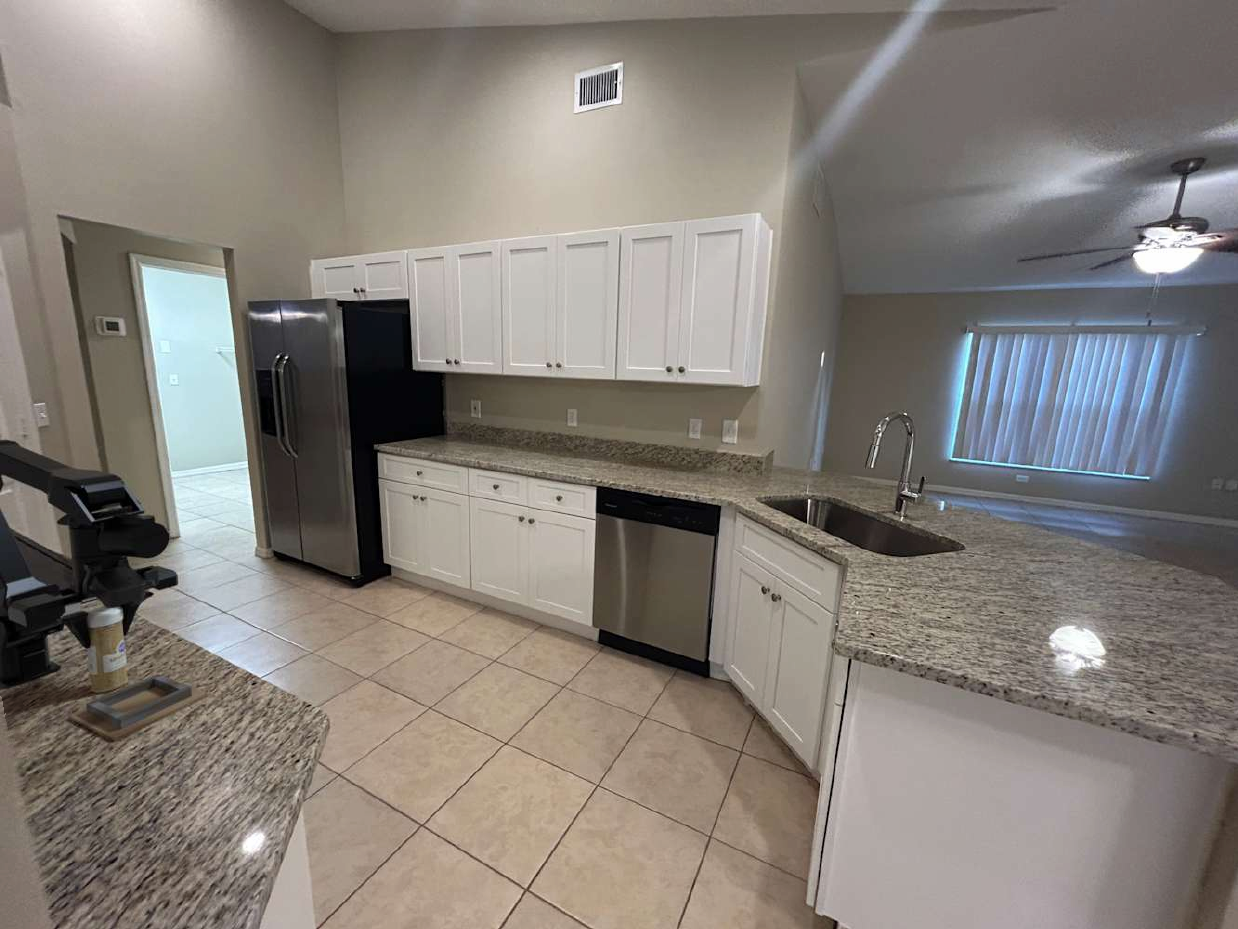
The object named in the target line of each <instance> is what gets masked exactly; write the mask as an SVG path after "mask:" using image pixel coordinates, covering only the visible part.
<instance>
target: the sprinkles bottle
mask: <svg viewBox="0 0 1238 929" xmlns="http://www.w3.org/2000/svg"><path fill="white" fill-rule="evenodd" d="M87 612H88V613H89V615H88V617H87V619H86V622H87V626H88V631H89V636H90V648H88V649H86V651H87V661H88V662H87V663H88V672H89V675H90V683H91V684H90V685H91V686H90V691H91V692H92V693H97V694H99V693H106V692H107V693H108V692H111V691H113V690H116V689H119V688H121V687H123V686H124V685H126V684H127V683H128V682H129V677H128V670H127V652H126V642H125V636H124V635H123V626H122V620H123V609H122V608H121V607H115V608H108V607H105V606H104V607H99V608H96V609H95V608H94V609H92V610H90V611H87Z"/></svg>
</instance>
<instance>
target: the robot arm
mask: <svg viewBox="0 0 1238 929" xmlns="http://www.w3.org/2000/svg"><path fill="white" fill-rule="evenodd" d="M2 476H5V477H7V478H9V479H12V480H14V481H17V482H18V483H22V484H24V485H27V486H29V487H30V488H33V489H35V490H37V491H40V492H42V493H44V494H46V498H47V503H49V504H50V505H52V506H53V507H55V508H56V509H58V510H60V511H61V512H63V513H64V515H63V516H62V517H60V518H59V519H58V520H57V521H56V524H57V525H59V526H60V525H61V526H68V535H69V545H70V546H69V548H70V554H71V558H68V559H67V563H68V566H70V567H72V575H73V582H71V583H70V590H71V591H74V593H70V594H66V595H62V593H61V589H60V587H59V585H58V584H56V583H54V582H52V583H48V584H46V583H45V582H42V581H40V580H38V579H36V578H35V576H34V574H33V573H32V572H33V571H32V569H31V568H30V566H29V564H28V562H27V560H26V558H25V555H24V554H23V552H22V549H21V548H20V546H19V543H18V541H17V539H16V538H15V536H14V534H13V532H12V528H10V526H9V524H8V521H7V520H6V517H5V516H4V512H3V511H2V509H1V508H0V686H3V687H4V688H12V687H13V686H17V685H19V684H22V683H25V682H27V681H30V680H34V679H36V678H39V677H42V676H45V675H48V674H51V673H53V672H57V671H59V670H62V665H61V664H58V663H56V662H54V661H52V660H51V654H50V647H49V636H50V635H53V634H56V633H61V632H62V631H64V630H65V626H66V628H68V630H69V631H70V633H71V634H72V635H73V636H74V637H75V638H76V640H77V641H78V642H79V644H80V645H81V646H82V647H83V648H84V649H86V650H87V649H88V648H90V636H89V631H88V626H87V622H86V619H87V617H88V615H89V613H88V612H89V611H85V610H83V606H82V605H83V604H86V603H90V602H93V601H97V600H98V601H100V602H101V603H102V604H103V606H104V607H108V608H115V607H121V608H122V609H123V620H122V626H123V635H124V637H126V636H127V635H128V633H129V630H130V627H131V625H132V622H133V621H134V618H135V616H136V613H137V611H138V609H139V607H140V606H141V604H143V602H145V601H146V600H147V599H149V598H152V597H153V596H154V594H155V593H154V592H153V591H150V590H151V589H154V590H156V591H162V590H165V589H169V588H174V587H176V586H178V585H179V577H178V576H179V575H178V574H177V572H176V571H175V570H173V569H171V568H166V567H163V566H160V565H156V566H154V565H152V564H151V565H149V566H145V567H140V568H135V569H132V567H131V565H130V563H129V559H128V558H129V557H130V558H138V559H147V560H148V559H154V558H156V557H157V556H159V555H161V554H162V553H163V552H164V551H166V549H167V548H168V546H169V542H170V538H171V536H170V532H169V531H168V528H166V527H165V525H163V524H161V523H159V522H156V517H155V515H154V514H145V509H144V508H143V507H142V506H141V502H140V501H139V500H138V499H137V498H136V497H135V495H134V494H133V493H132V491H131V490H130V489H129V487H128V486H127V484H126V483H125V482H124V480H123V479H122V478H121V477H120V476H118V475H116V474H114V473H110V472H107V471H105V472H104V471H101V470H97V469H96V470H94V469H93V470H92V469H81V468H74V467H71V466H70V465H66V464H64V463H62V462H60V461H56V460H54V459H52V458H49V457H47V456H45V455H43V454H40V453H38V452H35V451H33V450H30V449H28V448H25V447H24V446H21V445H20V444H19V442H17V441H15V440H10V439H7V438H5V439H0V494H1V492H2V489H3V487H4V485H5V484H4V483H5V482H4V480H3V477H2Z"/></svg>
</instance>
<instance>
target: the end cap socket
mask: <svg viewBox="0 0 1238 929" xmlns="http://www.w3.org/2000/svg"><path fill="white" fill-rule="evenodd" d="M208 697H209V694H208V692H206V691H203V690H201V689H198V688H195V687H193V686H191V685H188V684H185V683H183V682H181V681H179V680H176V679H173V678H171V677H169V676H166V675H161V674H158V673H157V674H154V675H152V676H149V677H147V678H145V679H142V680H140V681H137V682H136V683H133V684H131V685H128V686H126V687H122V688H121V689H118V690H116V691H114V692H111V693H108V694H107V695H104V696H101V697H99V698H96V699H94V700H92V701H89V702H87V703H86V707H85V708H84V709H81V710H78V711H76V712H73V713H71V714H69V715H68V719H69V720H71V721H73V722H75V723H77V724H79V725H81V726H82V727H85V728H87V729H89V730H90V731H92V730H93V731H92V732H94V731H95V733H96V732H97V733H96V734H99V735H101V736H102V737H104V738H106V739H109V740H111V742H114V743H115V742H117V741H119V740H121V739H123V738H126V737H127V736H129V735H131V734H133V733H135V732H137V731H139V730H141V729H144V728H145V727H148V726H150V725H152V724H154V723H156V722H158V721H160V720H162V719H164V718H166V717H168V716H171V715H173V714H174V713H177V712H179V711H180V710H183V709H185V708H186V707H189V706H191V705H193V704H195V703H197V702H199V701H201V700H204V699H206V698H208Z"/></svg>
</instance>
